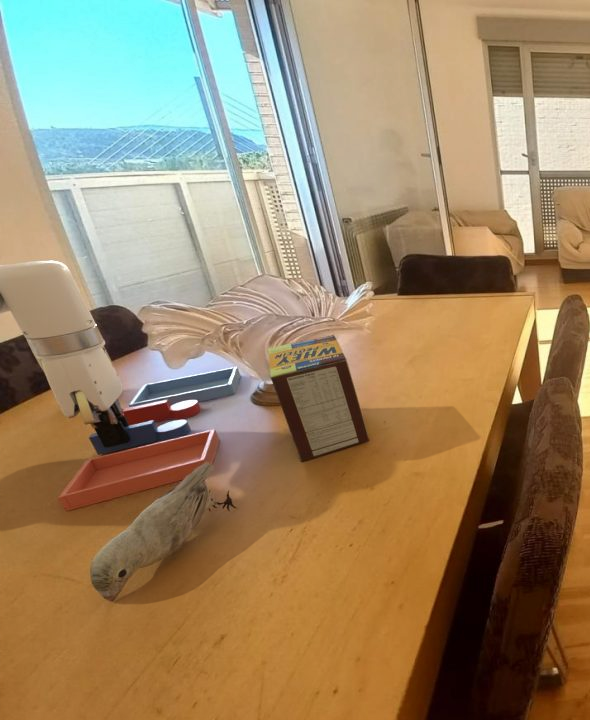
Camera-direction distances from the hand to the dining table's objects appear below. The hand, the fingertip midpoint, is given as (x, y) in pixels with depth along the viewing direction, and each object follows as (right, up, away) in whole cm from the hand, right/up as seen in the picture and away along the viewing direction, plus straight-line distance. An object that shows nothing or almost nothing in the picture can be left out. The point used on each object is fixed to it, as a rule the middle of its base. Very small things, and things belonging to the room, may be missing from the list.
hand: (119, 440), depth 81 cm
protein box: (+34, +1, +3) cm, 34 cm away
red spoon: (-3, +2, +10) cm, 11 cm away
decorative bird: (+30, -10, -22) cm, 38 cm away
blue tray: (-6, +7, +20) cm, 22 cm away
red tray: (+11, -4, -6) cm, 14 cm away
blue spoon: (+3, -1, +2) cm, 3 cm away
